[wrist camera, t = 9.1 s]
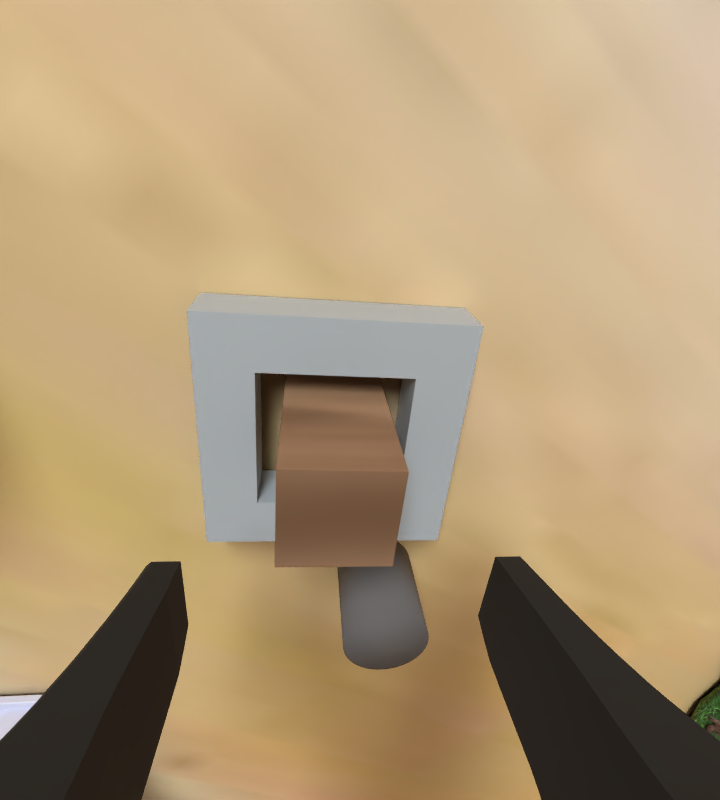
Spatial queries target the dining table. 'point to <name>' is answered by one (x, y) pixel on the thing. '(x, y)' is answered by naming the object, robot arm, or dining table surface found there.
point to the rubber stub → (381, 614)
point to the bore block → (332, 356)
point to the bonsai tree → (709, 713)
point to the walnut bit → (337, 474)
